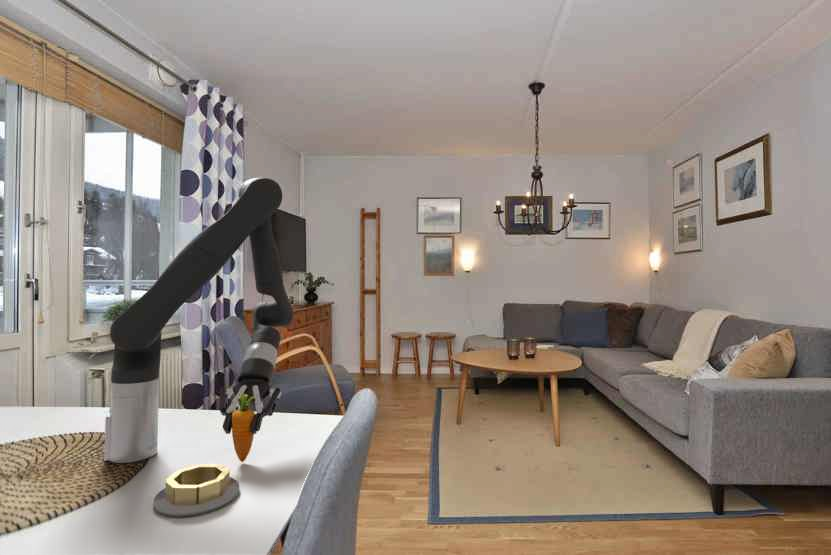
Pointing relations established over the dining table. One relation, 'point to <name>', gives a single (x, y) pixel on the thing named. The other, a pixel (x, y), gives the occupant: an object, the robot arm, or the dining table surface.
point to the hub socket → (196, 491)
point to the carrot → (242, 427)
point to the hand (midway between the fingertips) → (240, 431)
